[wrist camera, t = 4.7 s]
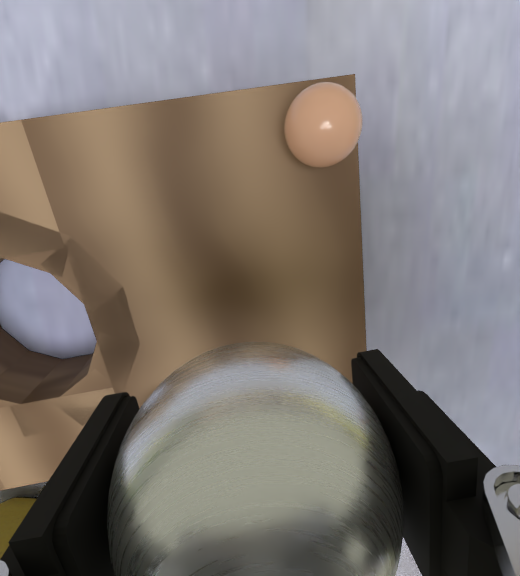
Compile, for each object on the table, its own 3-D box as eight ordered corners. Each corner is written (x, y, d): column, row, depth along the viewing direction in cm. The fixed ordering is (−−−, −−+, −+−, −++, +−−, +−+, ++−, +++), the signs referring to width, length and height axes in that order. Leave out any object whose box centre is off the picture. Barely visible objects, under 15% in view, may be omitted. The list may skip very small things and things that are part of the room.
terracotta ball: (344, 89, 14) (374, 64, 11) (347, 163, 15) (377, 159, 12) (274, 98, 14) (287, 76, 11) (283, 173, 15) (297, 171, 12)
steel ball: (337, 291, 9) (502, 445, 4) (350, 457, 11) (477, 745, 5) (128, 324, 9) (-53, 545, 3) (175, 489, 11) (107, 821, 5)
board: (324, 100, 18) (355, 74, 14) (343, 376, 24) (369, 419, 19) (-130, 163, 17) (-253, 157, 12) (7, 438, 22) (-45, 499, 18)
